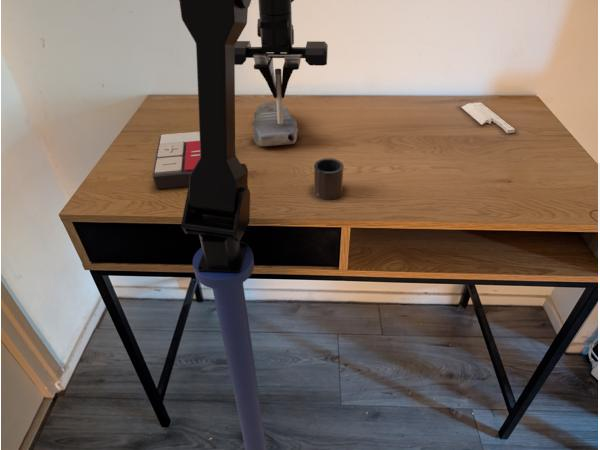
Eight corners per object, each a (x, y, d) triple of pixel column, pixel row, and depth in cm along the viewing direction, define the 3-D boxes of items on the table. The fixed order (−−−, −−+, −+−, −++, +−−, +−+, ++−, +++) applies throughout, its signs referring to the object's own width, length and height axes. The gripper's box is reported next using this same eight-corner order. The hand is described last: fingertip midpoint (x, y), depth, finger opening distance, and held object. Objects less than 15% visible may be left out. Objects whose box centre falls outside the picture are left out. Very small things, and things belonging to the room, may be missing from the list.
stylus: (283, 124, 89) (280, 70, 82) (277, 124, 89) (274, 70, 82) (283, 121, 90) (281, 68, 83) (277, 121, 90) (275, 68, 83)
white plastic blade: (492, 135, 94) (493, 130, 94) (461, 107, 106) (462, 103, 105) (514, 132, 95) (515, 128, 94) (480, 105, 106) (481, 101, 106)
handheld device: (289, 109, 107) (289, 91, 104) (300, 149, 91) (300, 128, 88) (250, 112, 106) (249, 94, 103) (255, 152, 90) (253, 132, 87)
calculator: (151, 173, 77) (158, 131, 88) (156, 192, 80) (163, 149, 91) (213, 167, 78) (212, 127, 89) (216, 186, 81) (215, 145, 92)
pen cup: (342, 200, 76) (343, 173, 73) (313, 199, 76) (313, 172, 73) (342, 184, 80) (343, 158, 77) (314, 183, 80) (314, 157, 77)
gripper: (329, 2, 82) (327, 83, 92) (232, 2, 83) (240, 82, 93) (327, 16, 73) (325, 104, 83) (219, 16, 75) (230, 102, 84)
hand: (279, 97), depth 86 cm, fingers closed on stylus, 1 cm apart
